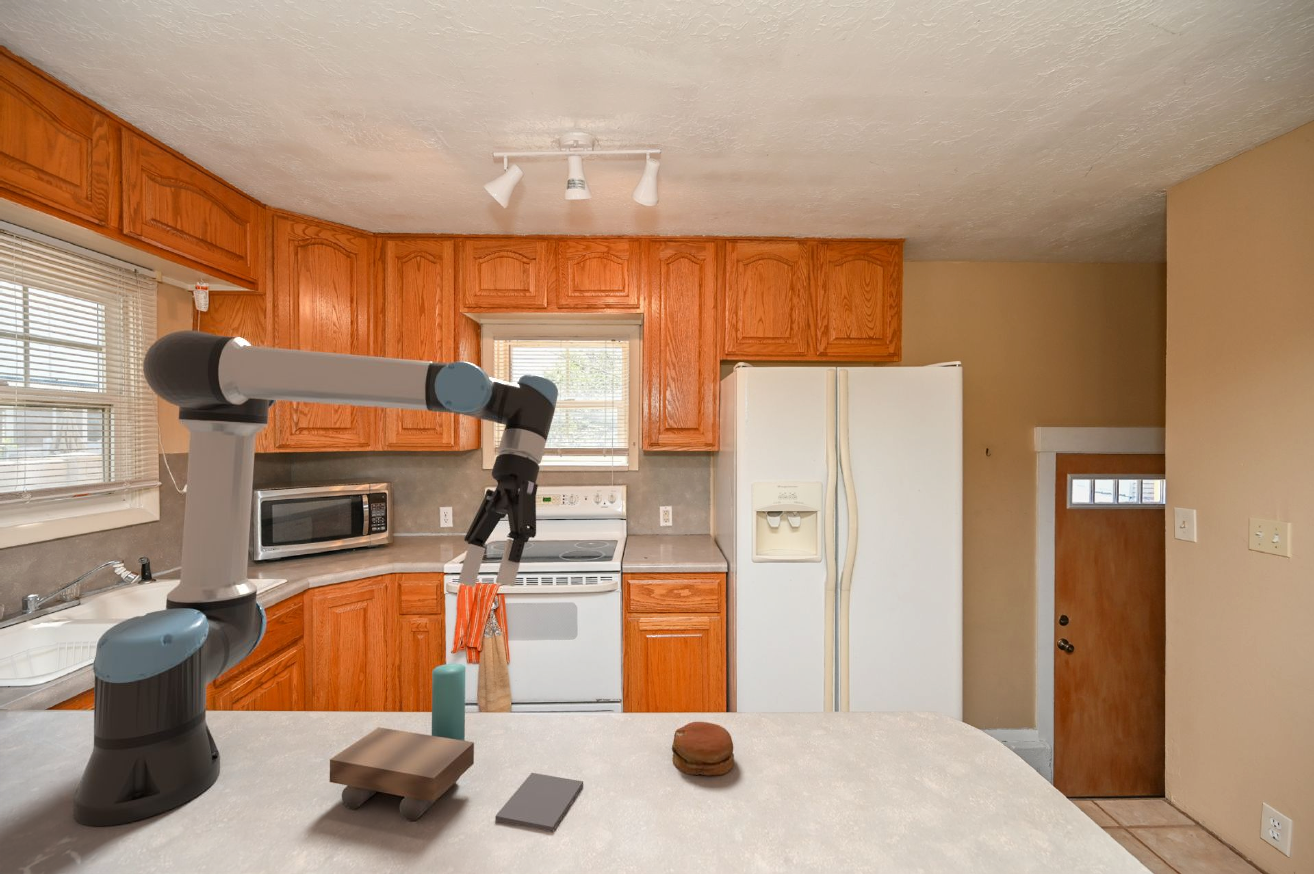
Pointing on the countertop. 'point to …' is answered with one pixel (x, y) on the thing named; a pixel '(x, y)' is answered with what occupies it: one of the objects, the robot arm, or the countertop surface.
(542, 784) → the pad
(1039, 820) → the countertop surface
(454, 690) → the roller
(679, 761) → the burger
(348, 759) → the slab
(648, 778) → the countertop surface
